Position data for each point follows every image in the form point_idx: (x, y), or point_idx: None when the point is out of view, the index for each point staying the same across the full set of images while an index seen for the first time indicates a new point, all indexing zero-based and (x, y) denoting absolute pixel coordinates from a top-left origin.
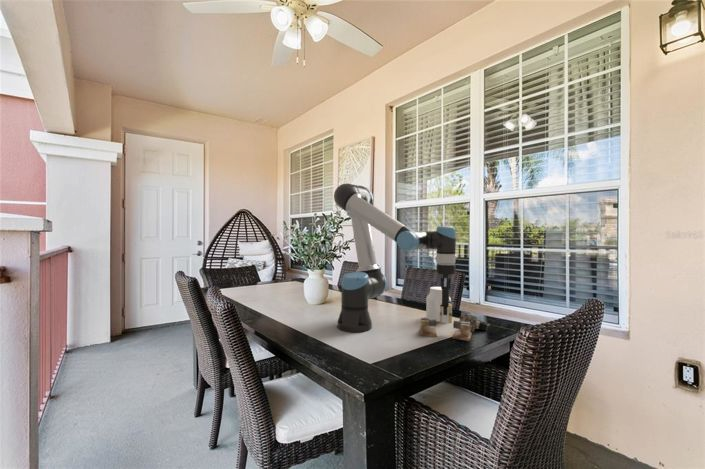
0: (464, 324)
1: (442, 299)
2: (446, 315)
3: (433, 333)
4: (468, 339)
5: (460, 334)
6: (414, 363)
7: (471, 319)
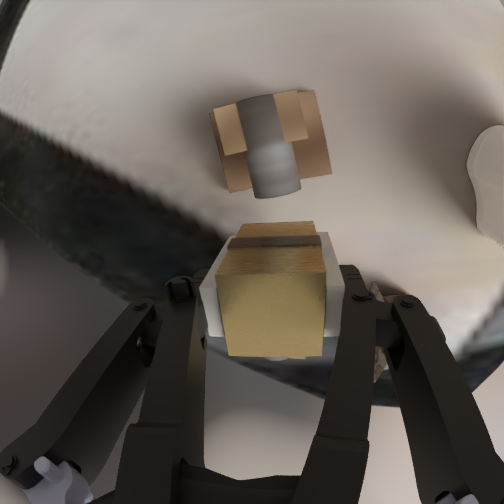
0: None
1: (105, 337)
2: None
3: (232, 176)
4: None
5: None
6: (14, 185)
7: (376, 357)
